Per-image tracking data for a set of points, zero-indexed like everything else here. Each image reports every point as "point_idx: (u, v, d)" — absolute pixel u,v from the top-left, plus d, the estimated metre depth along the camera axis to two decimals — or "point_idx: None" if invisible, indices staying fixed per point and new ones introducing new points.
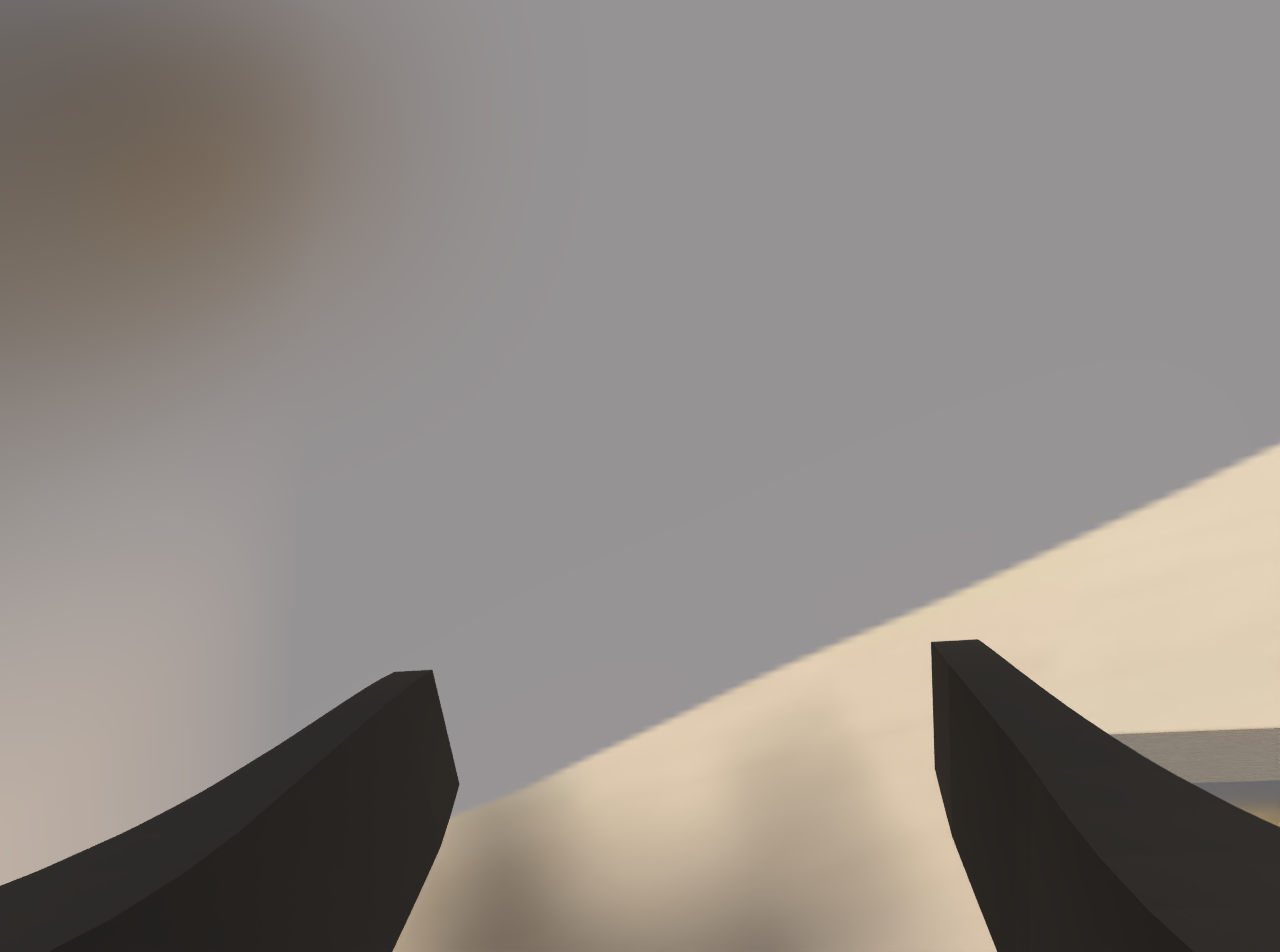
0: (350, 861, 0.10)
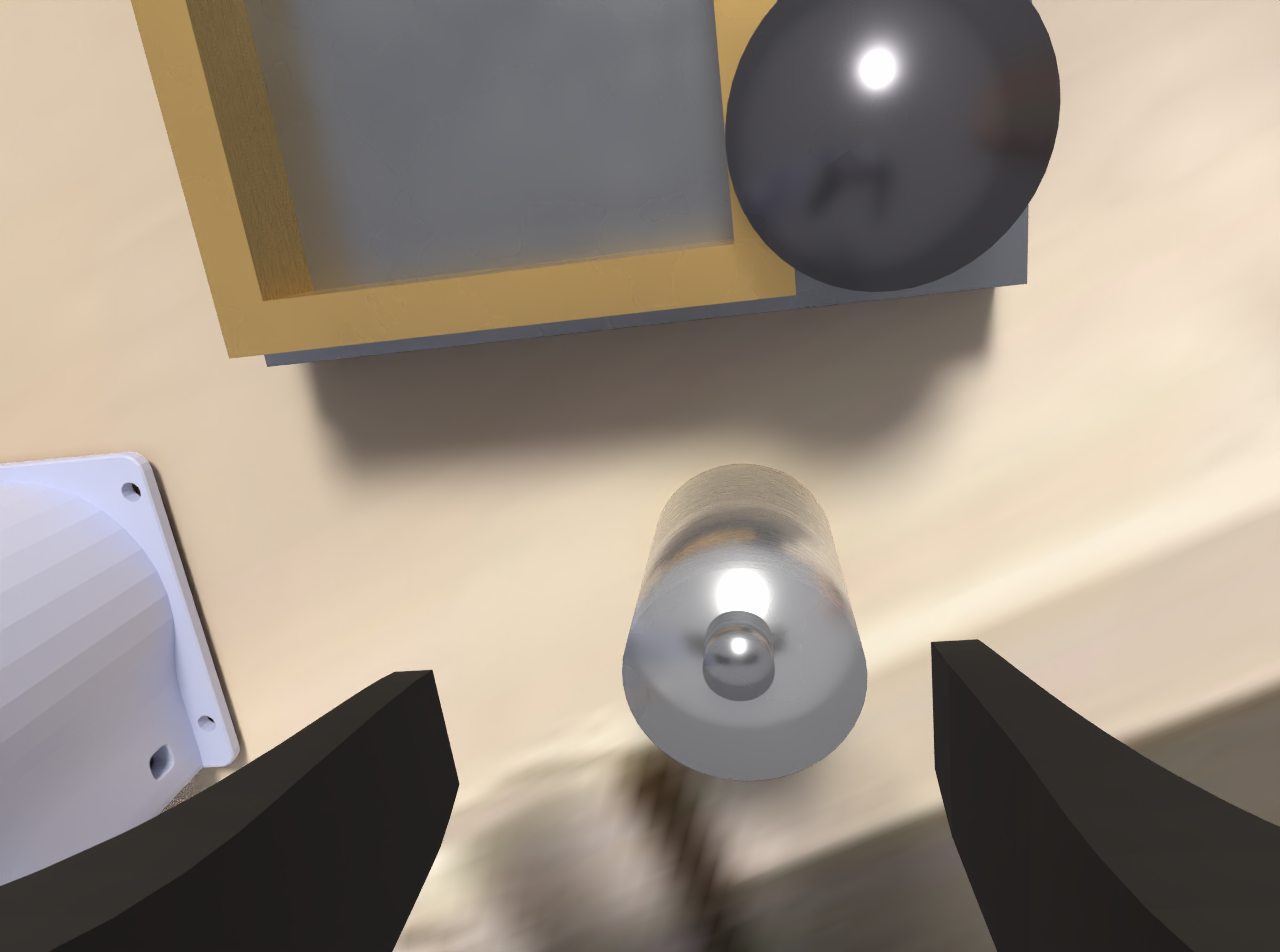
0: (350, 861, 0.10)
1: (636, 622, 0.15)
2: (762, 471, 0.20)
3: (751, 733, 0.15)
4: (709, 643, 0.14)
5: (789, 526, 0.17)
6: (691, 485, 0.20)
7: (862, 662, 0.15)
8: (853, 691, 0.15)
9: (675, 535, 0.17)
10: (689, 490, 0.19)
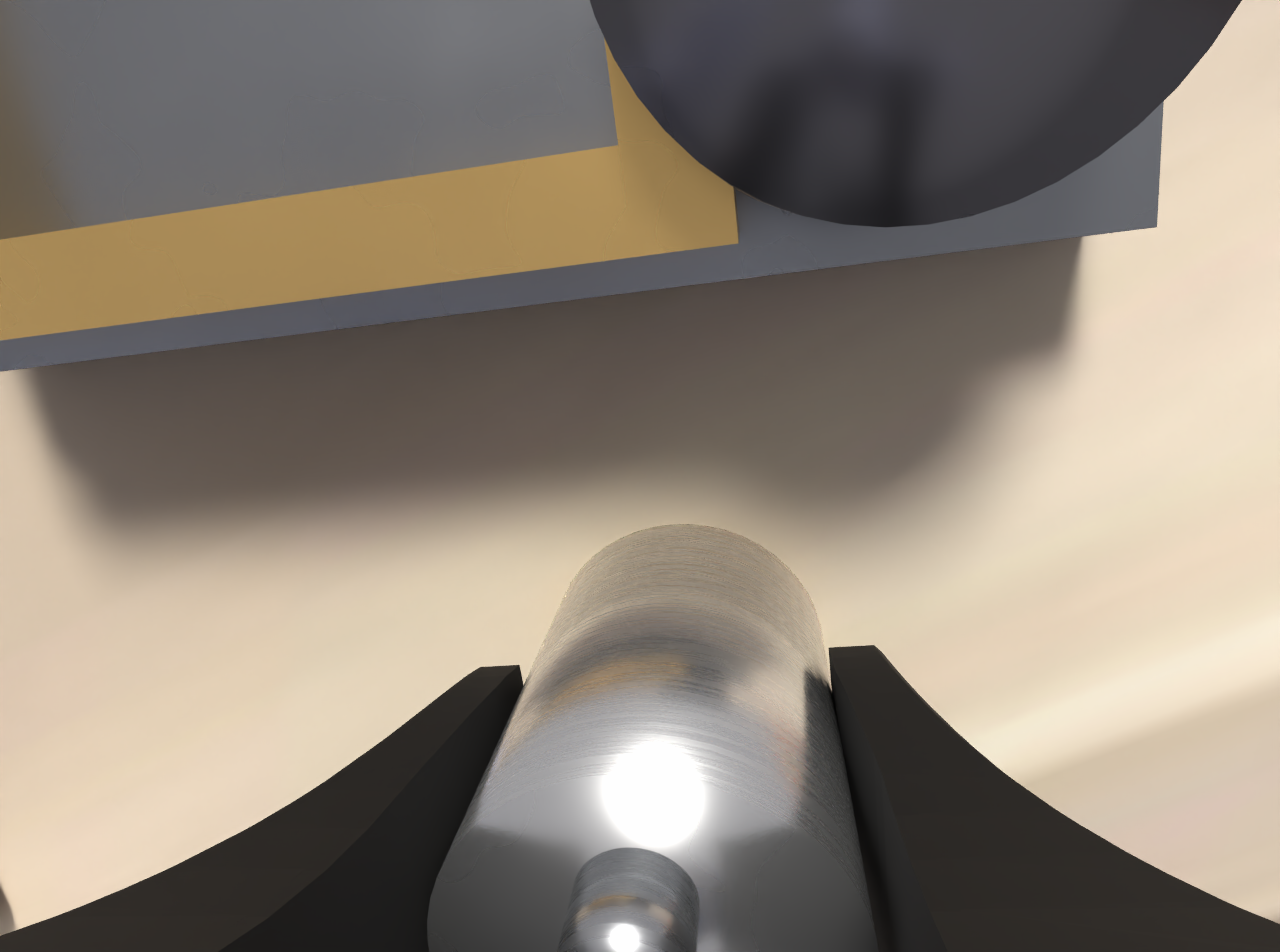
0: None
1: (446, 860, 0.08)
2: (711, 538, 0.13)
3: None
4: (566, 933, 0.07)
5: (743, 651, 0.10)
6: (602, 559, 0.13)
7: (871, 945, 0.08)
8: None
9: (553, 662, 0.10)
10: (597, 569, 0.12)
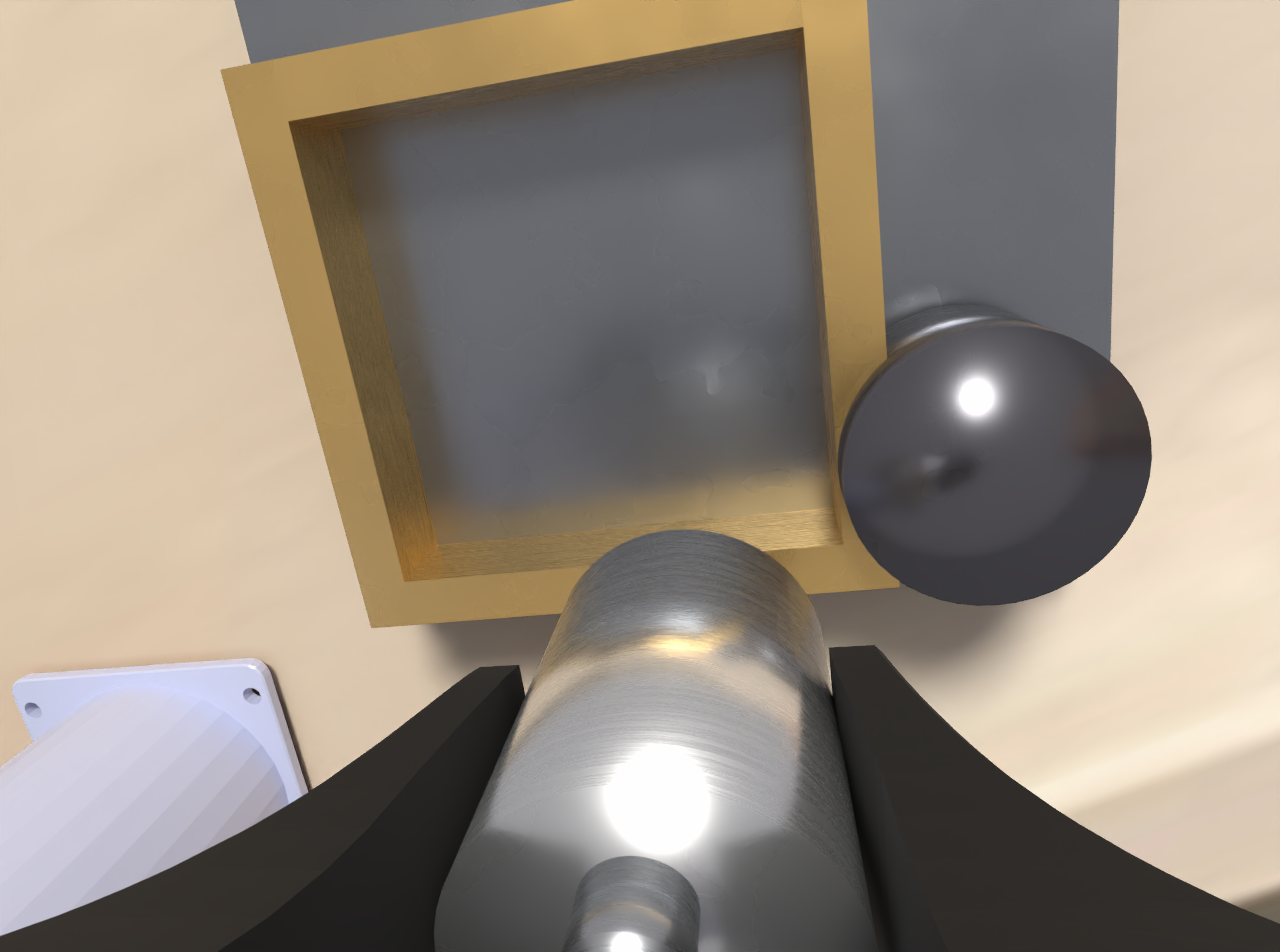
0: None
1: (450, 873, 0.08)
2: (709, 542, 0.13)
3: None
4: (568, 942, 0.07)
5: (740, 656, 0.10)
6: (602, 566, 0.13)
7: (871, 946, 0.08)
8: None
9: (553, 672, 0.10)
10: (597, 576, 0.13)
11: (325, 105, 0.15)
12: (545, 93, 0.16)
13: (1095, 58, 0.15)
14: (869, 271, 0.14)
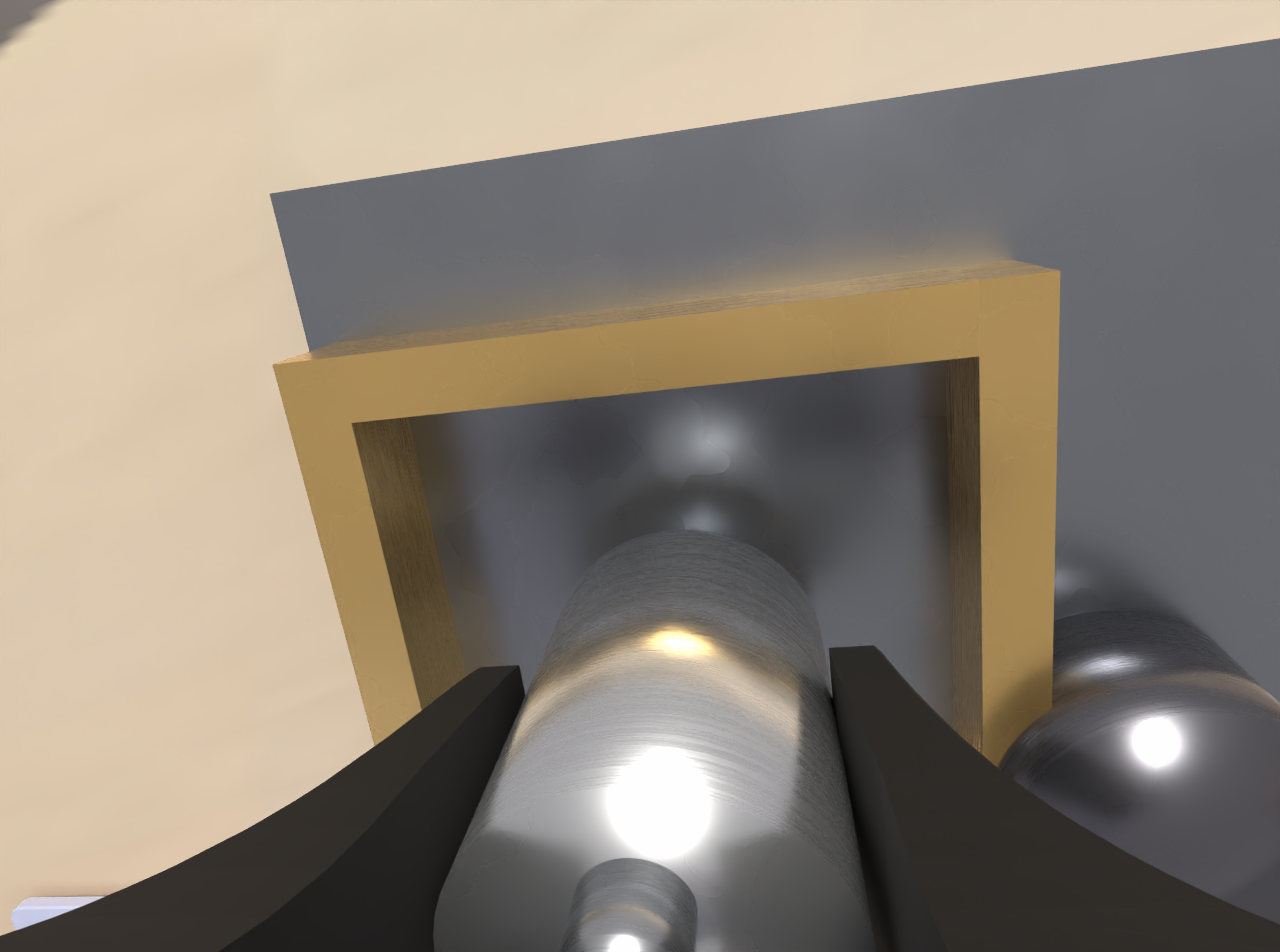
0: None
1: (448, 877, 0.08)
2: (706, 542, 0.13)
3: None
4: (564, 945, 0.07)
5: (736, 656, 0.10)
6: (599, 568, 0.13)
7: (868, 945, 0.08)
8: None
9: (550, 675, 0.10)
10: (594, 578, 0.13)
11: (396, 408, 0.12)
12: None
13: None
14: (1038, 617, 0.12)
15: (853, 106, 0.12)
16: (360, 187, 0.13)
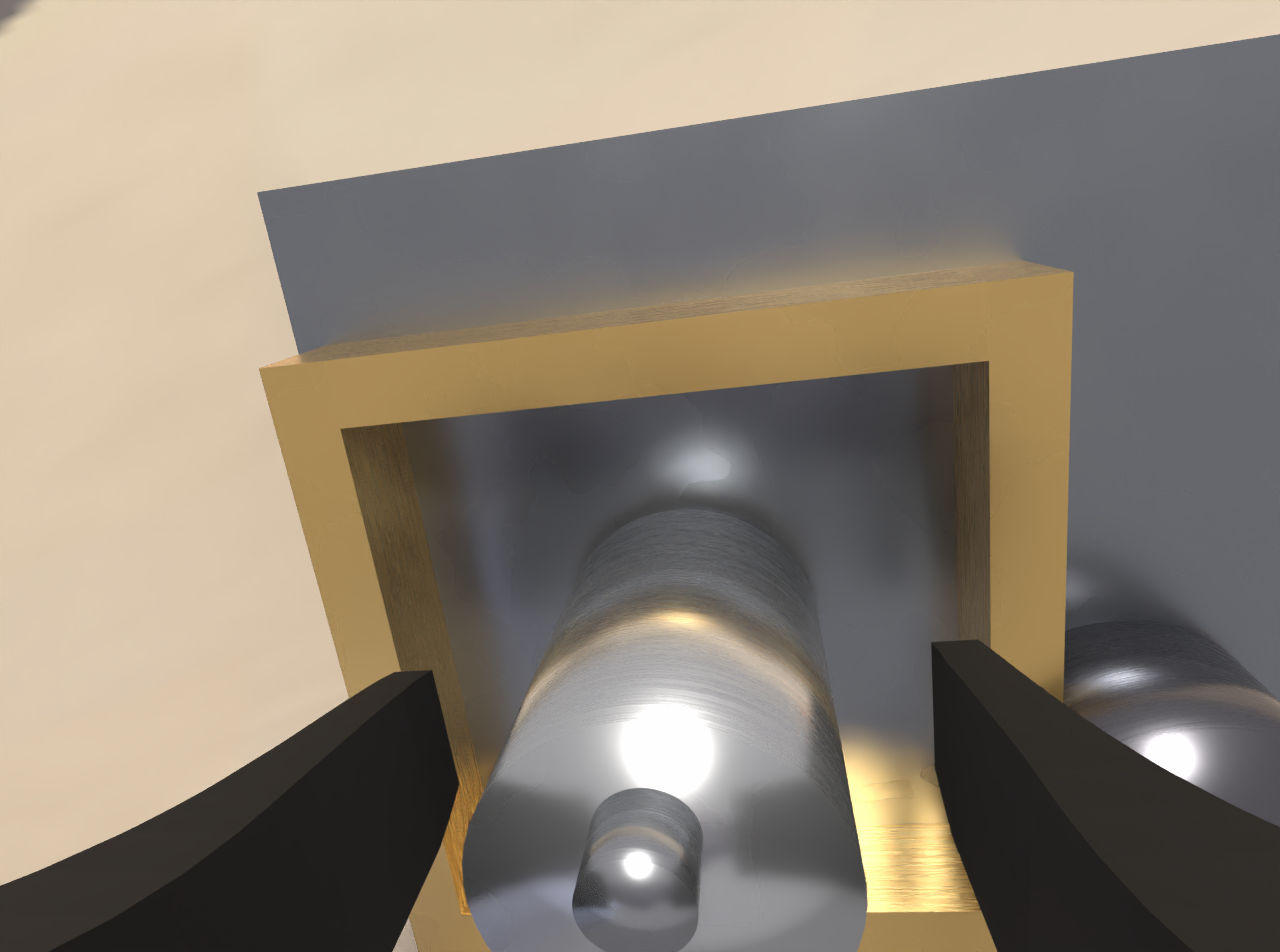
0: (350, 861, 0.10)
1: (476, 808, 0.09)
2: (708, 520, 0.14)
3: None
4: (584, 860, 0.08)
5: (737, 618, 0.11)
6: (608, 545, 0.14)
7: (857, 867, 0.09)
8: (845, 912, 0.09)
9: (565, 636, 0.11)
10: (604, 554, 0.13)
11: (386, 413, 0.12)
12: None
13: None
14: (1049, 629, 0.12)
15: (858, 102, 0.12)
16: (350, 185, 0.13)
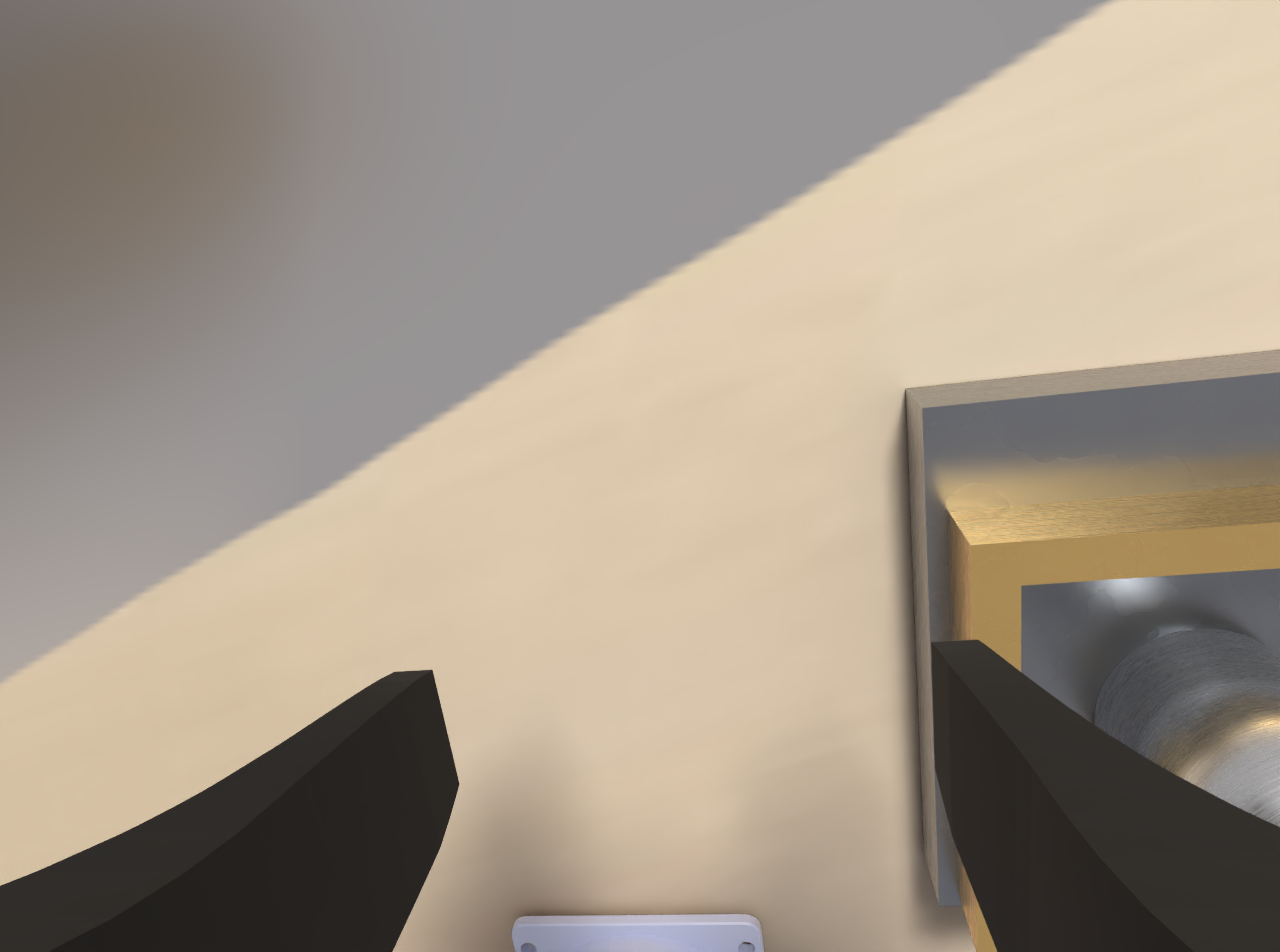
0: (350, 861, 0.10)
1: None
2: (1234, 639, 0.19)
3: None
4: None
5: None
6: (1156, 655, 0.19)
7: None
8: None
9: (1213, 735, 0.16)
10: (1161, 663, 0.19)
11: (1059, 576, 0.17)
12: None
13: None
14: None
15: None
16: (995, 405, 0.18)
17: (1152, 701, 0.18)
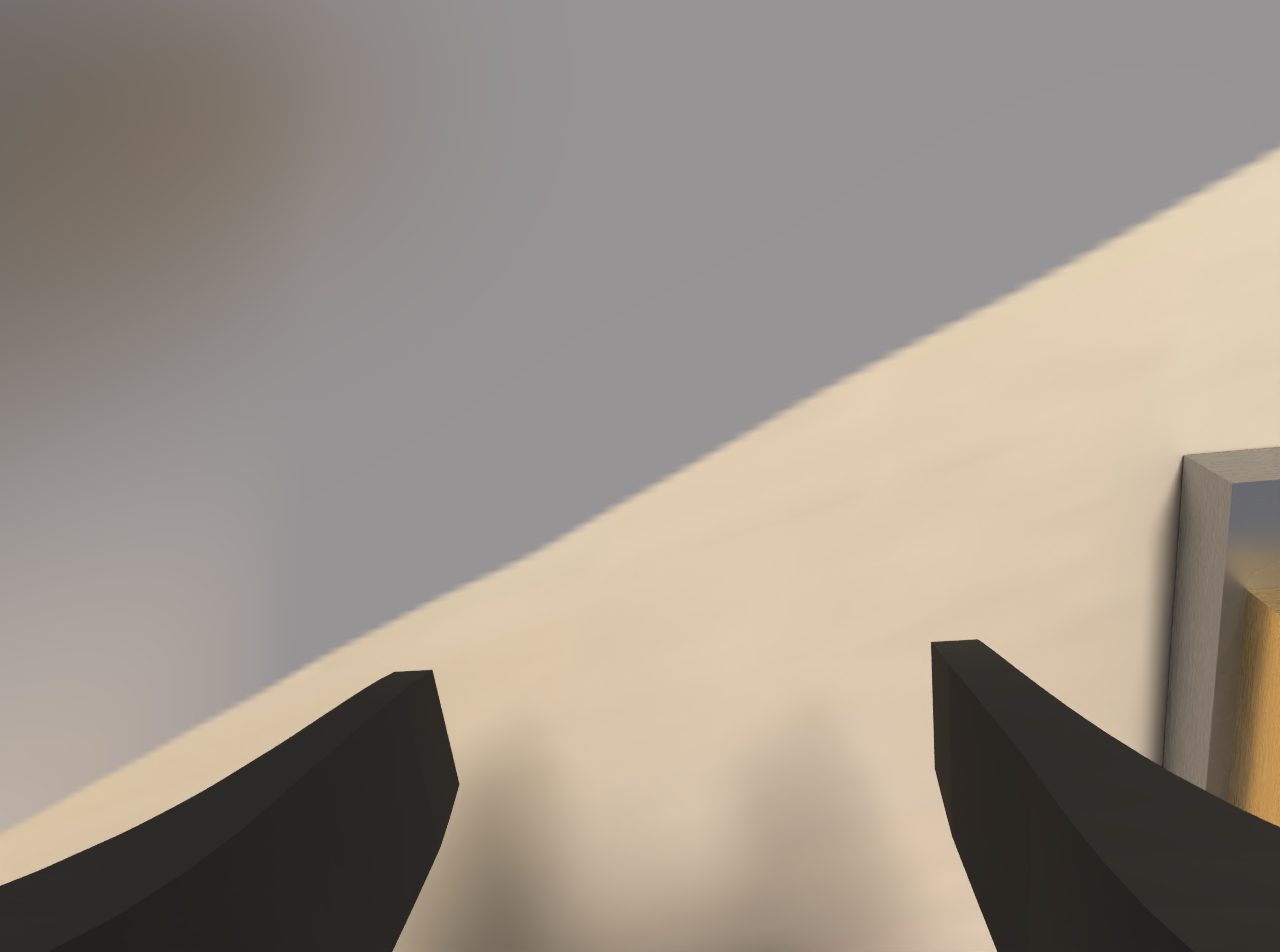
0: (350, 861, 0.10)
1: None
2: None
3: None
4: None
5: None
6: None
7: None
8: None
9: None
10: None
11: None
12: None
13: None
14: None
15: None
16: None
17: None
